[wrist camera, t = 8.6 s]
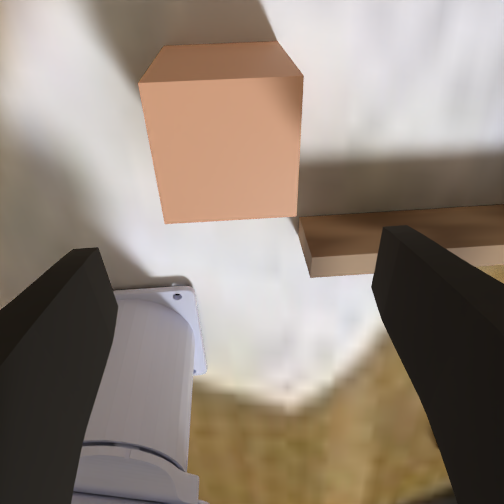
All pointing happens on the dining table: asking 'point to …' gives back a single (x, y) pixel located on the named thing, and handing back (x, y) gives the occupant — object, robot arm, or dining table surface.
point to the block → (224, 130)
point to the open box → (424, 221)
